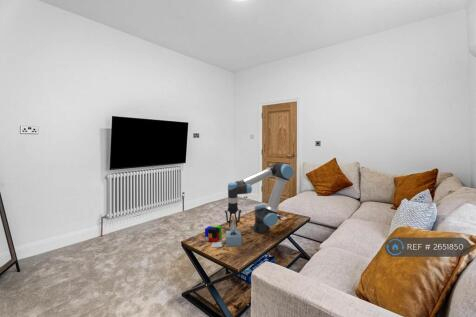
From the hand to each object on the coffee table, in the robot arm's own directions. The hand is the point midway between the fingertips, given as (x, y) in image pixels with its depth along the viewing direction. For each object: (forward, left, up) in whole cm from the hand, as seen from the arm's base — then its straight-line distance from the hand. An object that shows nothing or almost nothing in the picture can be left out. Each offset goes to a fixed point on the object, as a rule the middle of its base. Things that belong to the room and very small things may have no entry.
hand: (233, 230), depth 178 cm
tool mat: (+13, +2, -10) cm, 17 cm away
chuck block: (+2, 0, -10) cm, 10 cm away
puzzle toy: (+16, -8, -10) cm, 21 cm away
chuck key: (0, 0, -5) cm, 5 cm away
